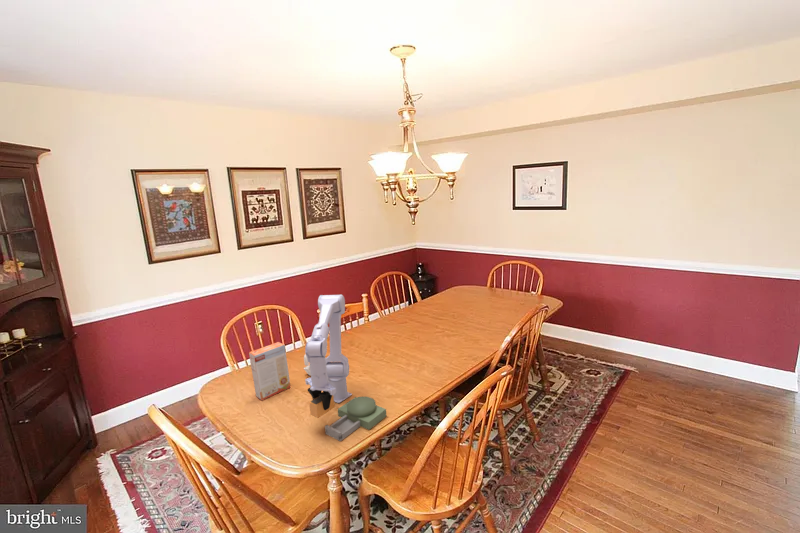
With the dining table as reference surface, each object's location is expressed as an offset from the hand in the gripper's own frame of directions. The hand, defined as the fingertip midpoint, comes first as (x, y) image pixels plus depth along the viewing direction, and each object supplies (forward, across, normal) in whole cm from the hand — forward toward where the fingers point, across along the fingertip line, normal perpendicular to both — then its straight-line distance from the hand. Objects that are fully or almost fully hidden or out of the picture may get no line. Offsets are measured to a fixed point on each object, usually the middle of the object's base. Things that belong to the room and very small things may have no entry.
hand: (322, 406), depth 140 cm
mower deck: (+8, +7, +8) cm, 13 cm away
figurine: (+9, -36, +25) cm, 45 cm away
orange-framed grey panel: (+2, 0, 0) cm, 2 cm away
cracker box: (+9, -39, +4) cm, 40 cm away
